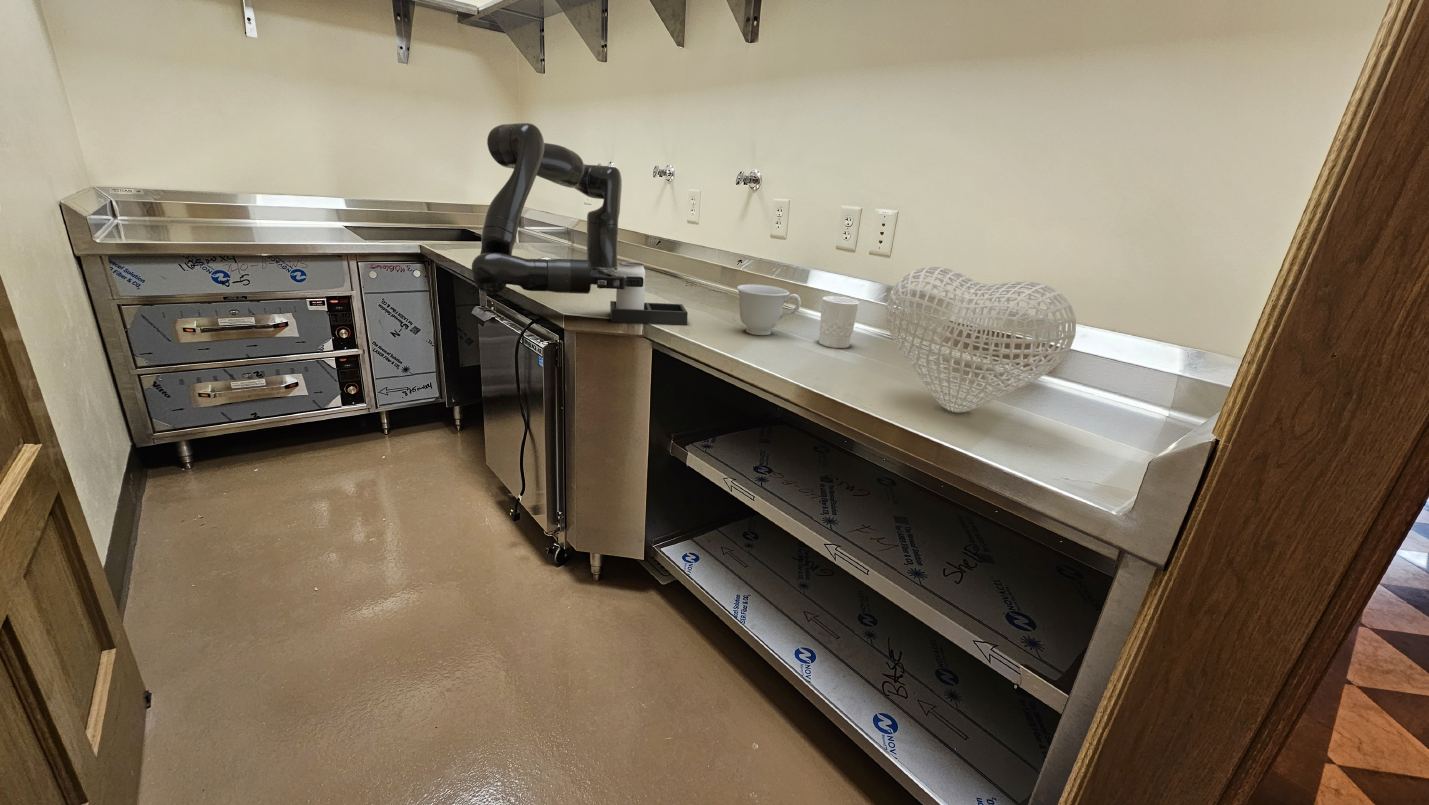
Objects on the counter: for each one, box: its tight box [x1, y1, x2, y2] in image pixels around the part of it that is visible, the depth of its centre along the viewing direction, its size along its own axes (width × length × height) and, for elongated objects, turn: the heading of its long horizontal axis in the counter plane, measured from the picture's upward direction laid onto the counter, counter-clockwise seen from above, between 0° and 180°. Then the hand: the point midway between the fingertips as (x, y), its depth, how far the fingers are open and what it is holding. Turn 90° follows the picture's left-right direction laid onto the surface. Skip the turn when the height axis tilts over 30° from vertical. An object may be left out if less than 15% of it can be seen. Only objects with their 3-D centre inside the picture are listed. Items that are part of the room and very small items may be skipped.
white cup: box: [818, 295, 860, 349], centre depth 134 cm, size 8×8×10 cm
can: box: [615, 261, 646, 310], centre depth 141 cm, size 6×6×12 cm
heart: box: [885, 266, 1077, 413], centre depth 96 cm, size 28×16×22 cm, turn 46°
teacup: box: [736, 283, 802, 336], centre depth 138 cm, size 12×15×10 cm
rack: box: [609, 300, 689, 326], centre depth 144 cm, size 9×17×3 cm, turn 101°
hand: (640, 278), depth 141 cm, fingers open, 8 cm apart
